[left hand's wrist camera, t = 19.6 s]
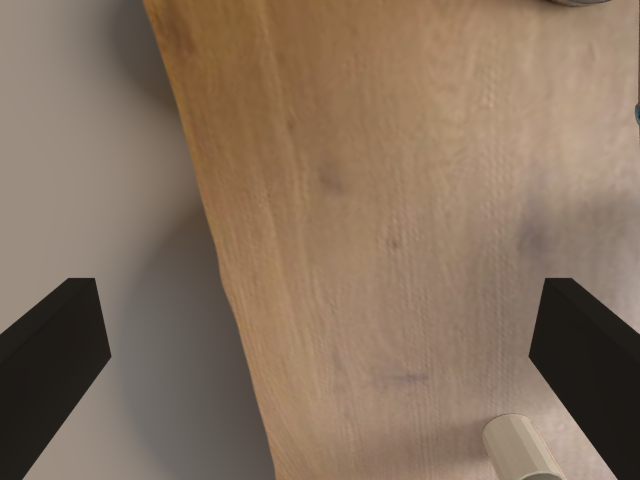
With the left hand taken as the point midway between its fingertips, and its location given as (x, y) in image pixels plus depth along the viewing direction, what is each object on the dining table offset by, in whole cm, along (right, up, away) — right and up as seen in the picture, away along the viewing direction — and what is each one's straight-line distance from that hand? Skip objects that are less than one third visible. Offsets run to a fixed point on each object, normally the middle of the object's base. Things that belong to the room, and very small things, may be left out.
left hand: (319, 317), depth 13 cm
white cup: (+26, -25, +47) cm, 59 cm away
